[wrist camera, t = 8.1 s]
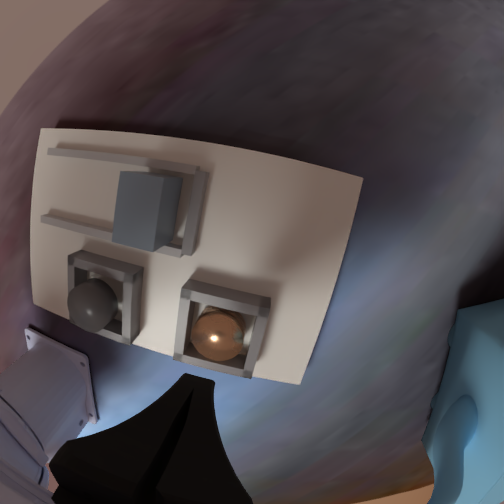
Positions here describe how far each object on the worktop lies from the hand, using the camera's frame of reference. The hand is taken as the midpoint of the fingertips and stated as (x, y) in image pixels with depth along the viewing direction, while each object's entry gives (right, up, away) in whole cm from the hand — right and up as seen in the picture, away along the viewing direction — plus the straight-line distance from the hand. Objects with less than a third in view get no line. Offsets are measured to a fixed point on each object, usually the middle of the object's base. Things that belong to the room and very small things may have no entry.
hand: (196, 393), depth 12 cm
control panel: (-4, +6, +7) cm, 10 cm away
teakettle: (+23, -3, +8) cm, 25 cm away
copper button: (+1, +2, +6) cm, 6 cm away
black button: (-7, +3, +5) cm, 10 cm away
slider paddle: (-3, +9, +5) cm, 10 cm away
